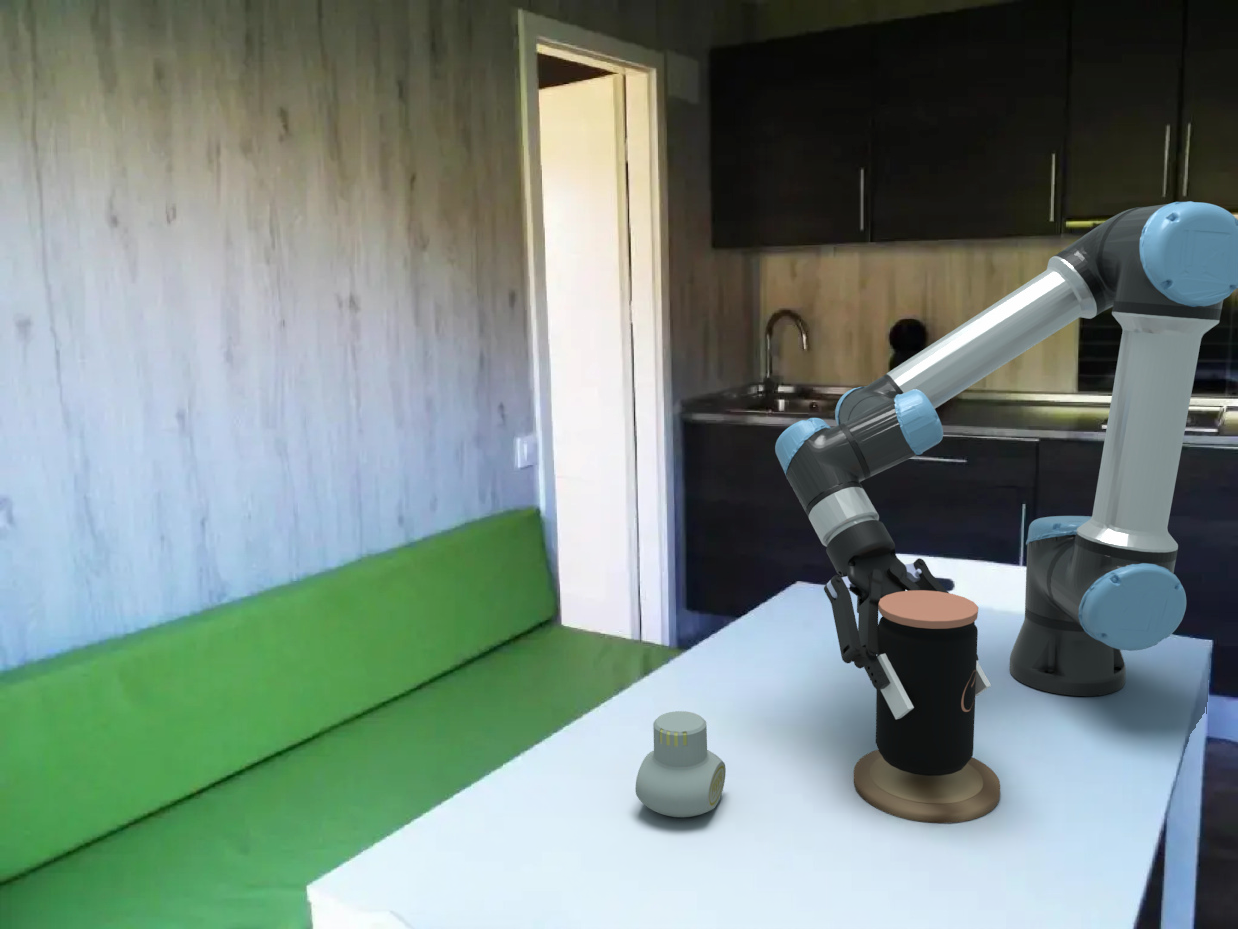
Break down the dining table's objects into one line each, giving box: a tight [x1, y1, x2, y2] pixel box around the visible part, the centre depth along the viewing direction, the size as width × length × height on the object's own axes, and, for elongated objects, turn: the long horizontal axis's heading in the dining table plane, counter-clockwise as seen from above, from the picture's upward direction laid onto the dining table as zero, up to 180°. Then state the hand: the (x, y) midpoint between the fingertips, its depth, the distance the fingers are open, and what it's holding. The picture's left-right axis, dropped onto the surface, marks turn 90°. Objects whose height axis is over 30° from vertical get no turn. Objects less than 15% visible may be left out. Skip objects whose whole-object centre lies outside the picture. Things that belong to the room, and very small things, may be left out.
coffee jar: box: [875, 590, 979, 776], centre depth 118 cm, size 11×11×18 cm
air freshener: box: [635, 710, 726, 818], centre depth 117 cm, size 11×8×10 cm
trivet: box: [853, 749, 1001, 824], centre depth 120 cm, size 16×16×1 cm
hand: (944, 702), depth 115 cm, fingers closed on coffee jar, 11 cm apart
